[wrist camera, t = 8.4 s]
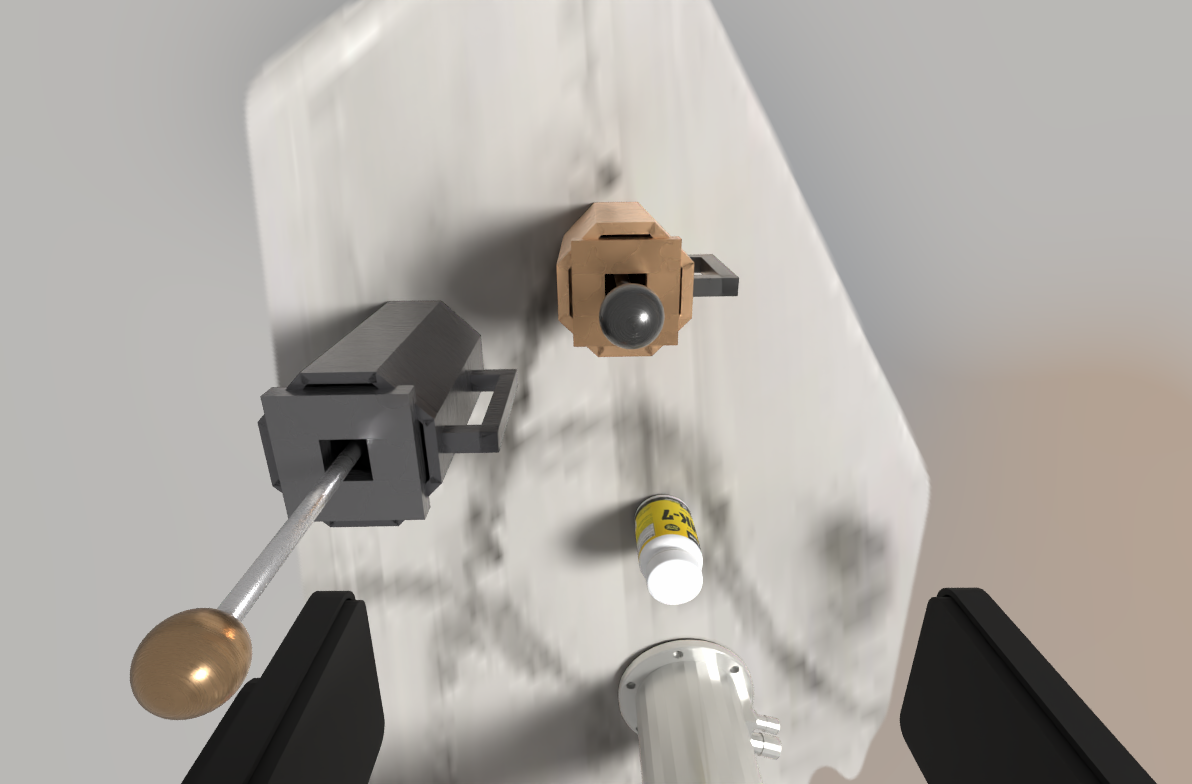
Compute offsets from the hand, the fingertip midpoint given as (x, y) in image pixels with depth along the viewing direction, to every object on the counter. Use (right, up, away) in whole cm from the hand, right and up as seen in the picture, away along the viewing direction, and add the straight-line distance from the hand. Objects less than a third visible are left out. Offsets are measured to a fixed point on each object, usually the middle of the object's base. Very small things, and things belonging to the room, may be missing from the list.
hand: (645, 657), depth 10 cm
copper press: (+2, +14, +33) cm, 36 cm away
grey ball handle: (+1, +14, +33) cm, 36 cm away
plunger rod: (-14, +3, +28) cm, 31 cm away
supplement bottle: (+5, -6, +42) cm, 42 cm away
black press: (-12, +7, +36) cm, 39 cm away
